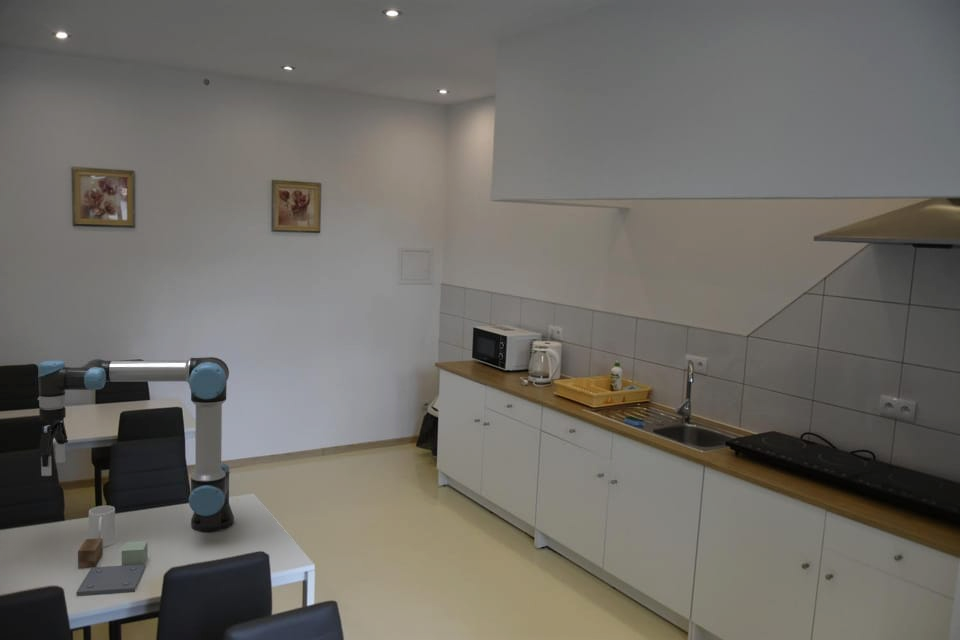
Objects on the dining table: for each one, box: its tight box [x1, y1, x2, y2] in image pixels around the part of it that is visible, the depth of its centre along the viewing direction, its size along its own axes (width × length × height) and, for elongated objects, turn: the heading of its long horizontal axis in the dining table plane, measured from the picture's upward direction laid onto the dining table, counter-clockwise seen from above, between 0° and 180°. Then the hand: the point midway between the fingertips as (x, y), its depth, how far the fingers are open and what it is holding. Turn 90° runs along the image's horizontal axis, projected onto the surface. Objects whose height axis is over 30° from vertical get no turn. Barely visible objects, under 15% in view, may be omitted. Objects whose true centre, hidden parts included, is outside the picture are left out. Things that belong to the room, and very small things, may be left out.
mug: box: [88, 505, 117, 548], centre depth 246 cm, size 12×8×12 cm
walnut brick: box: [77, 538, 104, 569], centre depth 234 cm, size 5×9×6 cm, turn 14°
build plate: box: [75, 563, 146, 597], centre depth 223 cm, size 16×16×2 cm
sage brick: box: [121, 540, 149, 566], centre depth 235 cm, size 6×6×6 cm
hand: (53, 468), depth 240 cm, fingers open, 13 cm apart
